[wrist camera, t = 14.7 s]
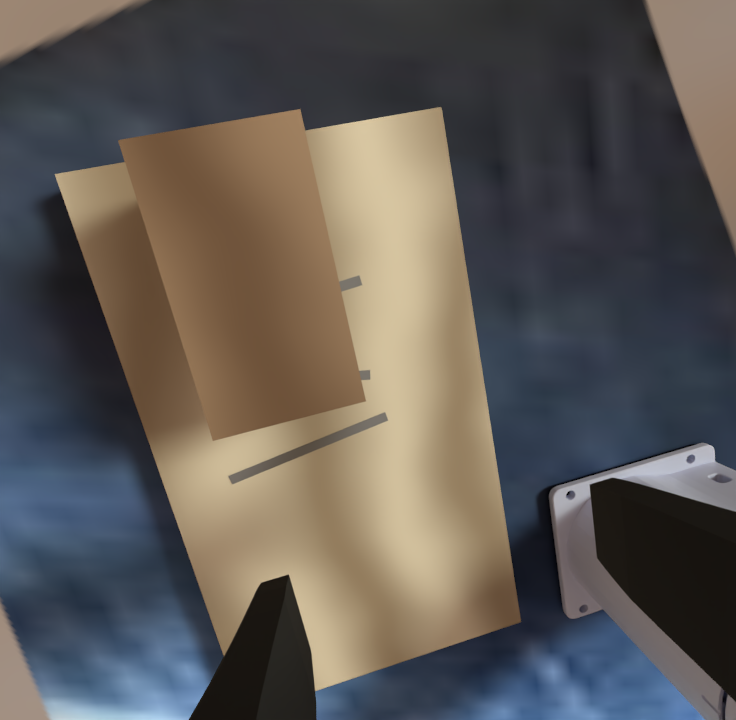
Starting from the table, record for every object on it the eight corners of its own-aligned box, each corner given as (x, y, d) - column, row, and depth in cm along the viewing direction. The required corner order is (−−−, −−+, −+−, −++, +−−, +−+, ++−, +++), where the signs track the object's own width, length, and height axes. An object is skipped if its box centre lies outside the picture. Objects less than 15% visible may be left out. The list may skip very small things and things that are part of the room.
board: (429, 121, 18) (441, 106, 16) (506, 600, 23) (521, 622, 21) (77, 184, 16) (54, 174, 14) (247, 684, 21) (244, 715, 20)
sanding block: (299, 162, 16) (300, 109, 11) (346, 367, 17) (365, 401, 13) (175, 185, 15) (118, 140, 10) (237, 394, 17) (212, 440, 12)
